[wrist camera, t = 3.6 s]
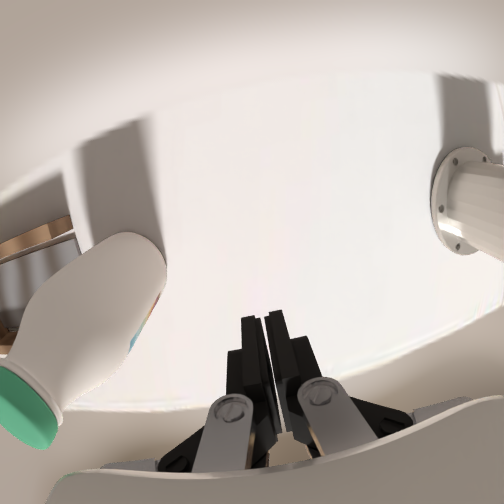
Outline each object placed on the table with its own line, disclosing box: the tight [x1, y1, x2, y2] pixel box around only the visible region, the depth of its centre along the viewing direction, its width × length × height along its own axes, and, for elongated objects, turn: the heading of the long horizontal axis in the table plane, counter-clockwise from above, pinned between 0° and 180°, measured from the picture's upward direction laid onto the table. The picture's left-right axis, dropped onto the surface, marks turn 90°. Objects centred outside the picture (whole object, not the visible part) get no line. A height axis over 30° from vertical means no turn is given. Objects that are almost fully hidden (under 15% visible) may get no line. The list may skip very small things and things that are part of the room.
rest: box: [0, 215, 81, 355], centre depth 23 cm, size 22×14×6 cm, turn 101°
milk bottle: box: [0, 232, 167, 450], centre depth 16 cm, size 8×8×20 cm
